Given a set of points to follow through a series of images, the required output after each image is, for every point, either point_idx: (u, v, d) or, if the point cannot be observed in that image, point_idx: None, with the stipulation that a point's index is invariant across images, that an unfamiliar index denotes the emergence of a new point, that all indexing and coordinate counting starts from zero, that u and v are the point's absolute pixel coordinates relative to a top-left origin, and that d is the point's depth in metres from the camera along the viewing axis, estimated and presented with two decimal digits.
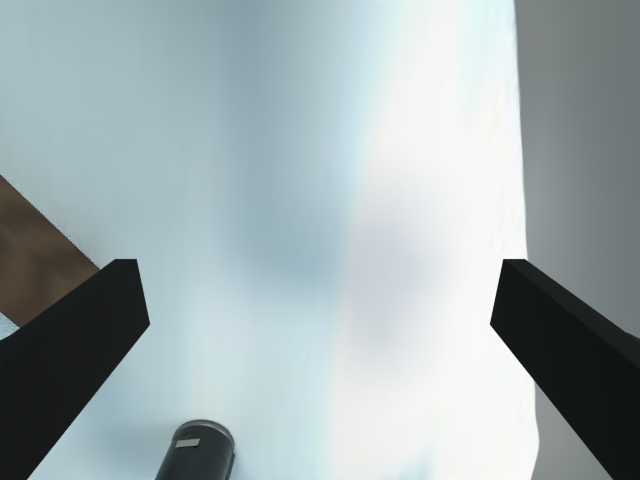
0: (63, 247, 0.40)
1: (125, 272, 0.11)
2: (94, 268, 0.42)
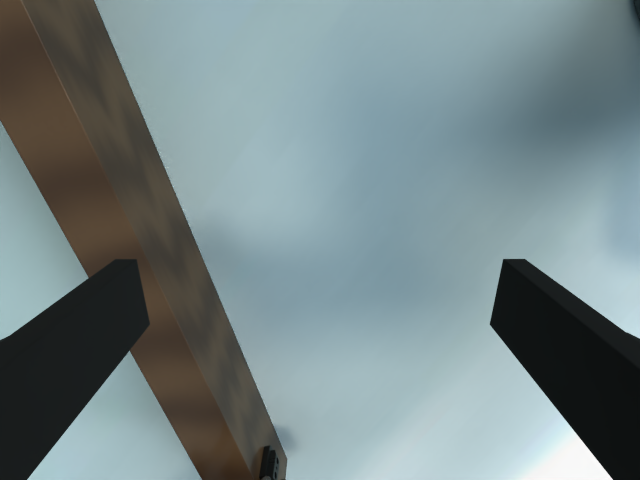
0: (270, 435, 0.41)
1: (125, 272, 0.11)
2: (281, 450, 0.43)
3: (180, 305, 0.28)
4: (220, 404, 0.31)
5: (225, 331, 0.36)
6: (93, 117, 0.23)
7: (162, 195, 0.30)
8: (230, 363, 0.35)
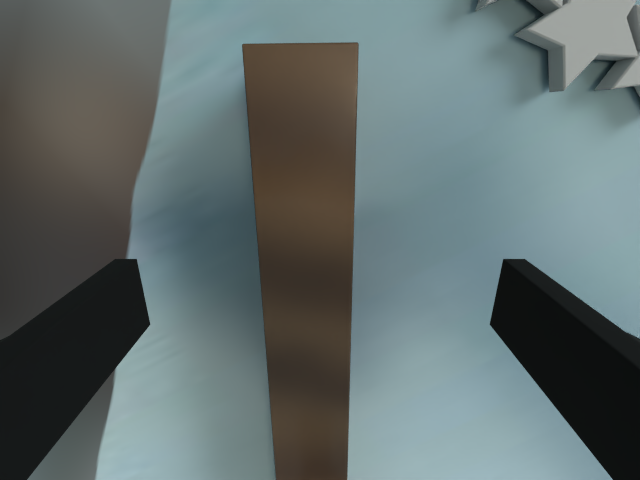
0: None
1: (125, 272, 0.11)
2: None
3: None
4: None
5: None
6: None
7: None
8: None
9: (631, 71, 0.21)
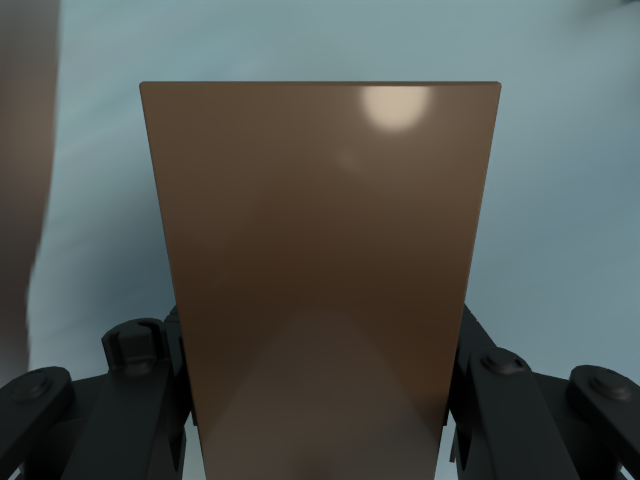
0: None
1: None
2: None
3: None
4: None
5: None
6: None
7: None
8: None
9: None
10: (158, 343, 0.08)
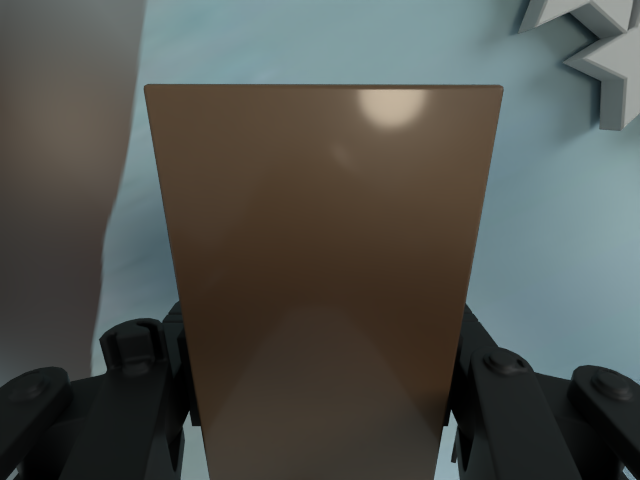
0: None
1: None
2: None
3: None
4: None
5: None
6: None
7: None
8: None
9: None
10: (156, 343, 0.08)
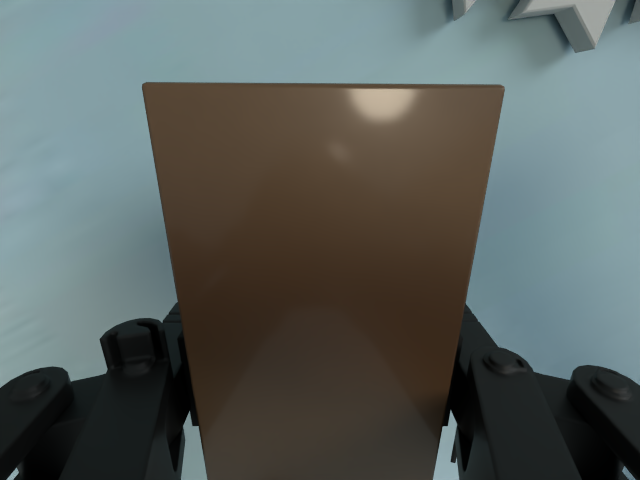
0: None
1: None
2: None
3: None
4: None
5: None
6: None
7: None
8: None
9: None
10: (156, 343, 0.08)
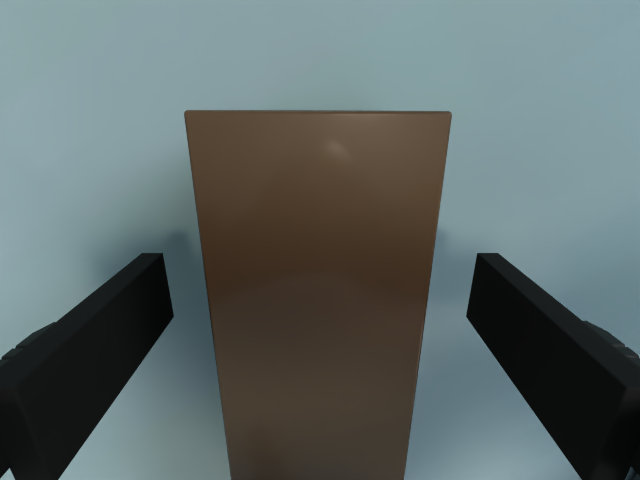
0: None
1: (153, 265, 0.12)
2: None
3: None
4: None
5: None
6: None
7: None
8: None
9: None
10: None
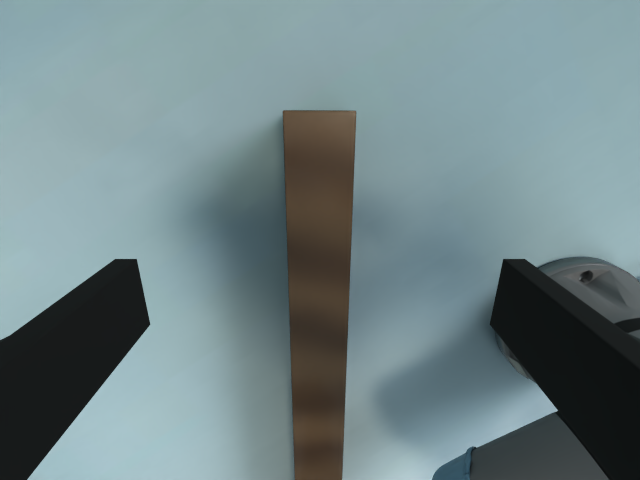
0: None
1: (125, 272, 0.11)
2: None
3: None
4: None
5: None
6: None
7: None
8: None
9: None
10: None
